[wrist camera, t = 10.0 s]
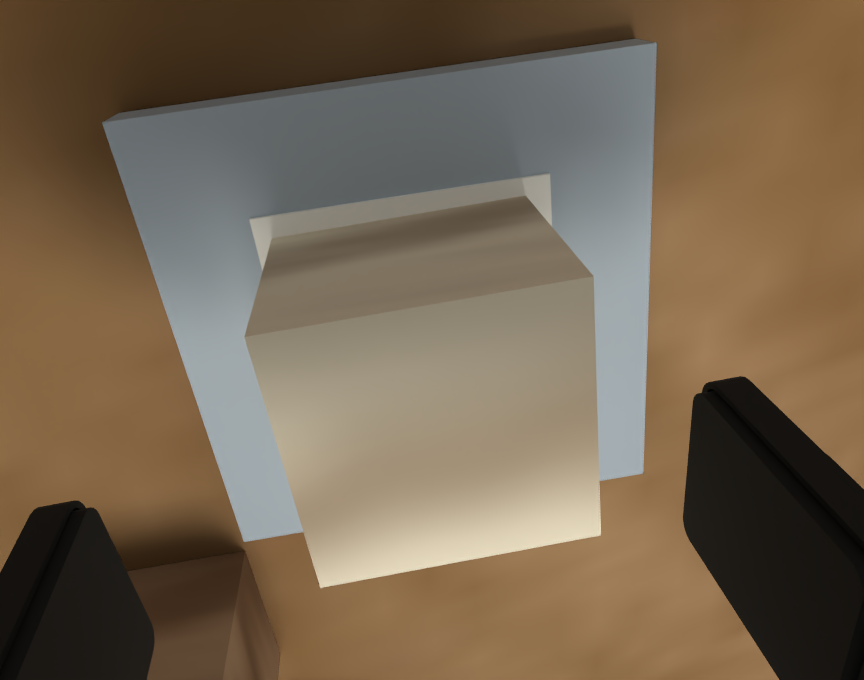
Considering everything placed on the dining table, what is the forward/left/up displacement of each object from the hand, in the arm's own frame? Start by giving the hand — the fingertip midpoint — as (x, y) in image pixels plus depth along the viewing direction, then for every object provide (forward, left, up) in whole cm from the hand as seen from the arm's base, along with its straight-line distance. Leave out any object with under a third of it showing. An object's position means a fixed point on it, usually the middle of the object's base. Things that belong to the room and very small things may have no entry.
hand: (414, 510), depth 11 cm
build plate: (+1, +1, -9) cm, 8 cm away
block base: (+1, +1, -7) cm, 7 cm away
